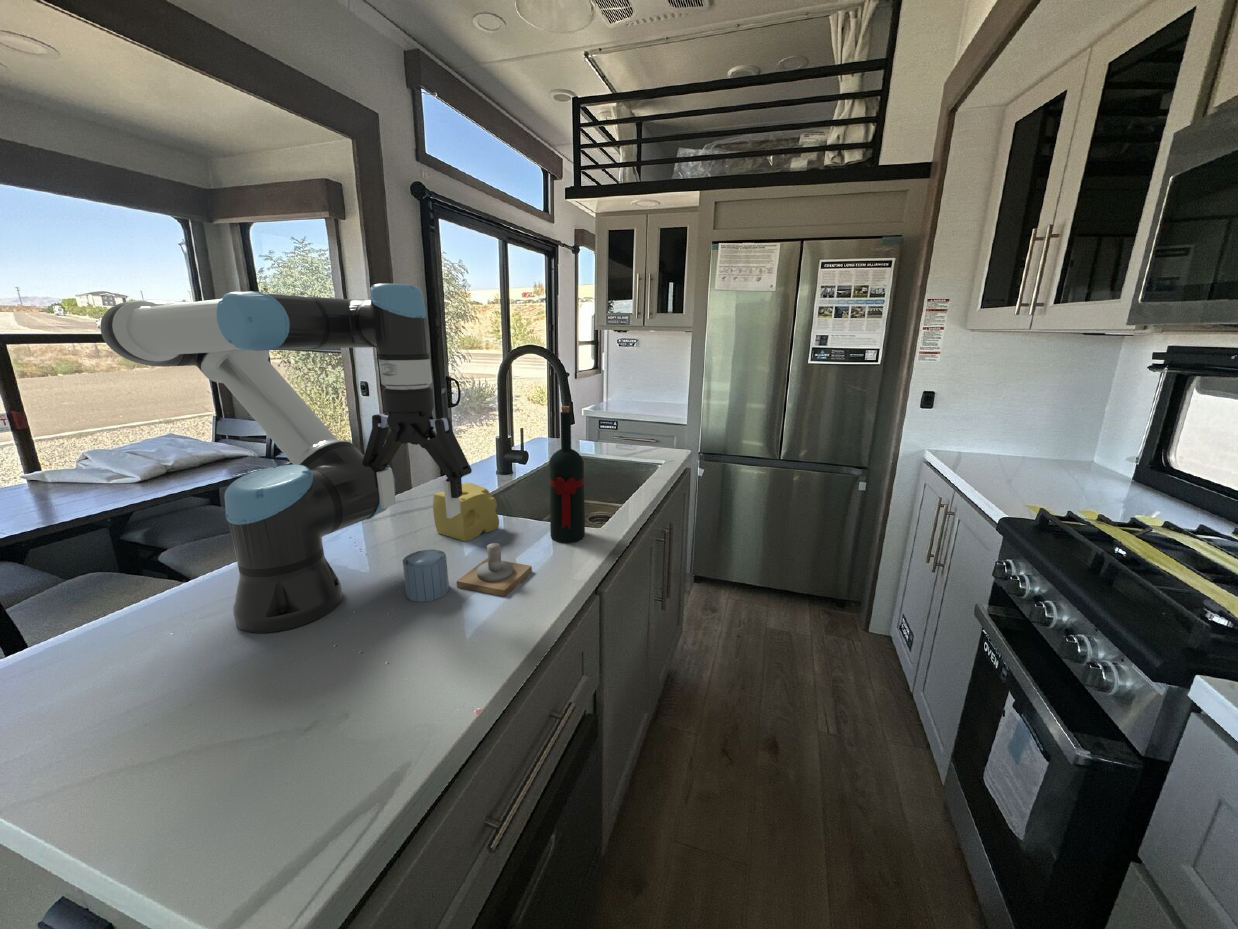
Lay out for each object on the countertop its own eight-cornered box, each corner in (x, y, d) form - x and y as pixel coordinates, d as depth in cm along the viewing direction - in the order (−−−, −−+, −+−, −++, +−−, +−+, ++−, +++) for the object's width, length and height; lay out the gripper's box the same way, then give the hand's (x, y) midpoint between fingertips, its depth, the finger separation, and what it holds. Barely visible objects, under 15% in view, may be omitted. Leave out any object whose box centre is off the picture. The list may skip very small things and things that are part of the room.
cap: (397, 597, 86) (393, 563, 84) (425, 578, 92) (421, 547, 91) (431, 604, 84) (427, 570, 82) (456, 585, 90) (454, 552, 88)
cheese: (499, 528, 117) (497, 488, 114) (464, 544, 108) (460, 501, 105) (470, 519, 122) (467, 481, 119) (433, 533, 113) (429, 492, 111)
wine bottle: (548, 548, 106) (544, 411, 98) (551, 529, 116) (548, 403, 108) (584, 547, 107) (583, 411, 99) (585, 529, 116) (584, 404, 109)
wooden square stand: (457, 587, 90) (454, 553, 88) (487, 563, 99) (485, 532, 97) (504, 596, 86) (502, 561, 85) (531, 571, 96) (530, 539, 94)
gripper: (327, 385, 79) (345, 509, 84) (458, 392, 71) (469, 527, 77) (364, 381, 86) (379, 496, 91) (487, 387, 78) (495, 511, 84)
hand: (420, 510), depth 84 cm, fingers open, 13 cm apart
